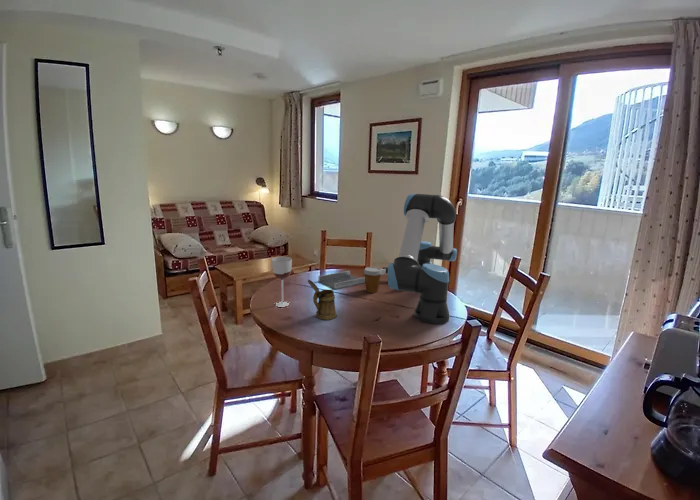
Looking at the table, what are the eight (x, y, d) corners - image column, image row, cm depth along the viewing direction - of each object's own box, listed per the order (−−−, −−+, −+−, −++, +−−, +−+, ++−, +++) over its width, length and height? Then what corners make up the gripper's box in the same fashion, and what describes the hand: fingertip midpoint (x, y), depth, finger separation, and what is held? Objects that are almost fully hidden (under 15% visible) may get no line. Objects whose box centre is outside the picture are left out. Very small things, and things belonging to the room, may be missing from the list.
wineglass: (269, 307, 166) (268, 260, 161) (278, 300, 175) (277, 255, 170) (287, 309, 164) (286, 262, 159) (295, 302, 173) (295, 257, 168)
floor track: (348, 275, 218) (349, 270, 217) (366, 282, 205) (367, 277, 205) (318, 281, 204) (318, 276, 203) (335, 289, 192) (335, 284, 191)
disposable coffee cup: (381, 294, 187) (382, 272, 185) (363, 293, 188) (363, 271, 185) (380, 288, 197) (381, 267, 194) (362, 287, 197) (363, 266, 194)
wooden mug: (303, 316, 157) (303, 276, 153) (329, 310, 164) (330, 272, 160) (312, 324, 150) (313, 282, 146) (340, 317, 157) (341, 277, 153)
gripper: (428, 282, 201) (401, 289, 188) (396, 271, 220) (369, 276, 207) (429, 269, 199) (402, 275, 186) (396, 259, 218) (370, 264, 205)
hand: (385, 276), depth 197 cm, fingers open, 13 cm apart
